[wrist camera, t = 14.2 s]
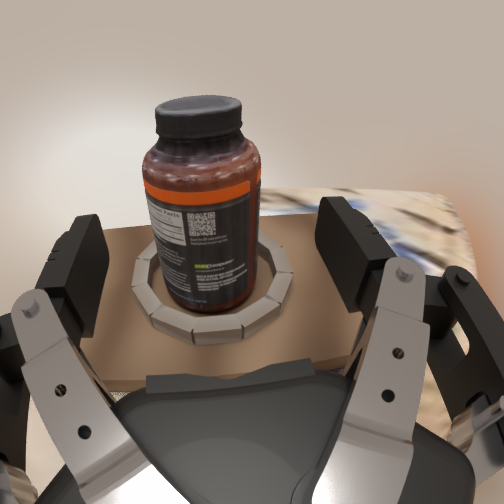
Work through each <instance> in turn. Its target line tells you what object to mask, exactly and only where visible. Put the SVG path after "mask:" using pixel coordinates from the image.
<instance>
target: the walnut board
mask: <svg viewBox="0 0 504 504" xmlns="http://www.w3.org/2000/svg"><path fill="white" fill-rule="evenodd" d="M317 217H318V213H315V214H294V215H276V216H260V217H259V235H258V260H257V274H256V282H255V285H254V287H253V289H252V291H251V292H250V294H249V295H248V296H247V297H246V298H245V299H244V300H243V301H241V302H240V303H239V304H237V305H236V306H233V307H232V308H229V309H225V310H221V311H215V312H201V311H196V310H191V309H188V308H186V307H184V306H182V305H181V304H179V303H178V302H176V301H175V300H174V299H173V298H172V297H171V295H170V294H169V292H168V290H167V288H166V284H165V282H164V278H163V274H162V269H161V265H160V261H159V257H158V252H157V248H156V243H155V238H154V234H153V229H152V225H146V226H136V227H125V228H116V229H106V230H103V233H104V237H105V240H106V243H107V246H108V250H109V258H110V261H109V268H108V271H107V275H106V279H105V283H104V287H103V292H102V296H101V300H100V305H99V309H98V314H97V319H96V324H95V329H94V334H93V338H81V342H80V347H81V349H82V350H83V352H84V353H85V355H86V357H87V358H88V360H89V362H90V363H91V365H92V366H93V368H94V370H95V371H96V373H97V374H98V376H99V377H100V379H101V380H102V382H103V383H104V385H105V386H106V388H107V389H108V391H109V392H133V391H136V390H138V389H140V388H143V387H146V375H167V374H184V373H187V374H193V375H200V376H207V377H214V378H222V379H233V378H236V377H239V376H241V375H244V374H247V373H250V372H252V371H255V370H257V369H260V368H263V367H265V366H268V365H270V364H275V363H282V362H288V361H294V360H300V359H306V358H311V361H312V364H313V368H314V369H322V370H328V371H330V370H334V369H339V368H343V367H345V365H346V363H347V360H348V358H349V355H350V352H351V349H352V346H353V343H354V340H355V337H356V334H357V331H358V328H359V325H360V322H361V320H362V317H363V314H362V312H361V311H360V312H355V313H348V311H347V308H346V306H345V304H344V302H343V300H342V298H341V296H340V294H339V292H338V290H337V288H336V286H335V284H334V282H333V280H332V277H331V275H330V273H329V271H328V269H327V267H326V265H325V264H324V262H323V260H322V258H321V256H320V254H319V252H318V250H317V248H316V244H315V228H316V222H317Z"/></svg>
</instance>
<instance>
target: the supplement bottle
mask: <svg viewBox="0 0 504 504" xmlns="http://www.w3.org/2000/svg"><path fill="white" fill-rule="evenodd" d="M241 111H242V105H241V102H240V101H239V100H237V99H235V98H232V97H226V96H216V95H201V96H191V97H183V98H178V99H174V100H170V101H167V102H164V103H162V104H160V105H158V106H157V107H156V108H155V119H156V133H157V134H158V135H159V139H158V141H157V143H156V144H155V145H154V146H153V147H152V148H151V149H150V150H149V151H148V152H147V153H146V155H145V157H144V160H143V165H142V172H143V173H142V174H143V180H144V186H145V192H146V193H145V194H146V199H147V204H148V209H149V214H150V220H151V224H152V229H153V234H154V238H155V243H156V248H157V252H158V257H159V261H160V265H161V269H162V274H163V278H164V282H165V284H166V288H167V290H168V292H169V294H170V295H171V297H172V298H173V299H174V300H175V301H176V302H178V303H179V304H181V305H182V306H184V307H186V308H188V309H191V310H196V311H201V312H215V311H221V310H225V309H229V308H232V307H233V306H236V305H237V304H239V303H240V302H241V301H243V300H244V299H245V298H246V297H247V296H248V295H249V294H250V292H251V291H252V289H253V287H254V285H255V282H256V274H257V260H258V235H259V209H260V186H261V178H260V175H261V159H260V154H259V152H258V149H257V147H256V146H255V145H254V143H253V142H252V141H250V140H248V139H247V138H245V137H244V136H243V134H242V133H241V131H240V128H241V126H242V121H241Z"/></svg>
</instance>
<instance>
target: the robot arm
mask: <svg viewBox="0 0 504 504" xmlns="http://www.w3.org/2000/svg"><path fill="white" fill-rule="evenodd" d="M315 244H316V248H317V250H318V252H319V254H320V256H321V258H322V260H323V262H324V264H325V265H326V267H327V269H328V271H329V273H330V275H331V277H332V280H333V282H334V284H335V286H336V288H337V290H338V292H339V294H340V296H341V298H342V300H343V302H344V304H345V306H346V308H347V311H348V313H355V312H360V311H361V312H362V314H363V317H362V320H361V322H360V325H359V328H358V331H357V334H356V337H355V340H354V343H353V346H352V349H351V352H350V355H349V358H348V360H347V363H346V365H345V368H344V370H343V372H342V374H339V373H336V372H332V371H328V370H322V369H314V368H313V364H312V361H311V358H306V359H300V360H294V361H288V362H282V363H275V364H270V365H268V366H265V367H263V368H260V369H257V370H255V371H252V372H250V373H247V374H244V375H241V376H239V377H236V378H233V379H222V378H214V377H207V376H200V375H193V374H187V373H184V374H167V375H146V387H143V388H140V389H138V390H136V391H133V392H131V393H129V394H127V395H126V396H124V397H123V398H121V399H120V400H118V401H116V400H115V398H114V397H113V396H112V395H111V393H110V392H109V391H108V389H107V388H106V386H105V385H104V383H103V382H102V380H101V379H100V377H99V376H98V374H97V373H96V371H95V370H94V368H93V366H92V365H91V363H90V362H89V360H88V358H87V357H86V355H85V353H84V352H83V350H82V349H81V347H80V342H81V338H93V334H94V329H95V324H96V319H97V314H98V309H99V305H100V300H101V296H102V292H103V287H104V283H105V279H106V275H107V271H108V268H109V261H110V258H109V250H108V246H107V243H106V240H105V237H104V233H103V230H102V227H101V223H100V220H99V217H98V216H97V214H91V215H83V216H77V217H76V218H75V220H74V222H73V224H72V226H71V228H70V230H69V231H67V232H65V233H64V234H63V235H62V236H61V237H60V238H59V239H58V240H57V241H56V243H55V245H54V247H53V249H52V251H51V252H52V253H50V255H49V257H48V259H47V260H48V261H47V262H46V263H45V266H44V268H43V270H42V272H41V275H40V277H39V279H38V281H37V284H36V286H35V289H33V290H30V291H27V292H25V293H24V294H22V295H21V296H20V297H19V298H18V299H17V300H16V302H15V303H14V305H13V307H12V311H11V313H8V314H5V315H3V316H0V504H473V500H474V494H475V488H476V486H478V485H479V484H481V483H482V482H484V481H485V480H487V479H488V478H489V477H491V476H492V475H493V474H495V473H496V472H498V471H499V470H500V469H502V468H503V467H504V321H503V319H502V318H501V316H500V315H499V313H498V311H497V310H496V308H495V307H494V305H493V304H492V302H491V301H490V299H489V298H488V296H487V295H486V293H485V292H484V290H483V289H482V287H481V286H480V285H479V283H478V282H477V280H476V279H475V278H474V276H473V275H472V274H471V273H470V272H468V271H467V270H466V269H464V268H462V267H459V266H449V267H447V268H446V270H445V272H444V274H443V276H442V277H437V276H430V275H425V273H424V271H423V270H422V268H421V267H420V266H419V265H417V264H416V263H415V262H413V261H411V260H409V259H407V258H403V257H397V256H396V254H395V253H394V251H393V250H392V249H391V247H390V246H389V245H388V243H387V242H386V241H385V239H384V238H383V237H382V236H381V234H379V232H378V230H377V229H376V228H375V227H373V224H372V223H371V221H370V220H369V219H368V218H367V216H365V215H364V214H362V213H361V212H359V211H358V210H356V209H353V208H352V207H351V206H350V204H349V203H348V202H347V201H346V199H345V198H344V197H342V196H337V197H322V199H321V201H320V205H319V211H318V217H317V222H316V228H315ZM457 321H458V322H459V324H460V325H461V327H462V329H463V331H464V333H465V334H466V336H467V338H468V340H469V351H468V354H467V355H465V353H464V351H463V349H462V348H461V346H460V344H459V342H458V340H457V338H456V336H455V334H454V332H453V331H452V328H453V327H454V325H455V324H456V323H457ZM426 361H427V363H428V365H429V367H430V369H431V372H432V374H433V376H434V379H435V381H436V383H437V386H438V388H439V390H440V393H441V395H442V398H443V400H444V403H445V405H446V408H447V410H448V413H449V416H450V418H451V421H452V424H451V433H450V434H448V436H447V441H445V440H444V439H442V438H441V437H439V436H437V435H436V434H434V433H433V432H431V431H429V430H428V429H426V428H425V427H423V426H421V425H420V424H418V423H417V422H415V421H416V417H417V412H418V408H419V403H420V398H421V392H422V387H423V381H424V375H425V368H426ZM30 394H31V396H32V398H33V401H34V403H35V405H36V408H37V410H38V412H39V414H40V416H41V418H42V420H43V423H44V425H45V427H46V429H47V431H48V433H49V434H50V436H51V438H52V440H53V442H54V444H55V446H56V447H57V449H58V451H59V453H60V455H61V456H62V458H63V460H64V461H65V465H64V466H63V467H62V468H61V470H60V471H59V472H58V473H57V475H56V476H55V477H54V478H53V480H52V481H51V482H50V483H49V485H48V486H47V487H46V489H45V490H44V491H43V492H42V494H41V495H40V496H39V497H38V492H37V490H36V488H35V487H34V486H33V485H32V484H31V482H30V479H29V478H28V476H27V475H26V435H27V421H28V410H29V401H30ZM37 498H38V499H37Z"/></svg>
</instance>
